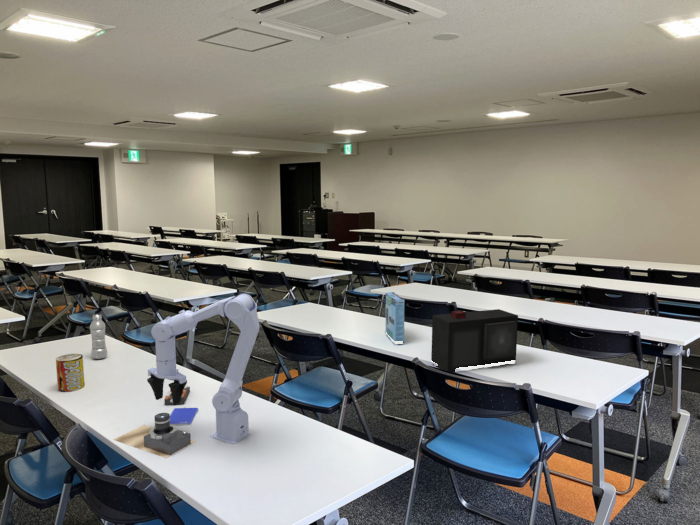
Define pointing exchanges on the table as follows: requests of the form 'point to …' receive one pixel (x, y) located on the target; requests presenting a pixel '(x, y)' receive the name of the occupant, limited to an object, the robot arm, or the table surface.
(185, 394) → the electronic device
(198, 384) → the table surface
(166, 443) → the block with segmented ring
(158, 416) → the lens
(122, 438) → the cork mat
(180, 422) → the hard drive
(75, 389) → the tin can
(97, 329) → the plastic bottle
